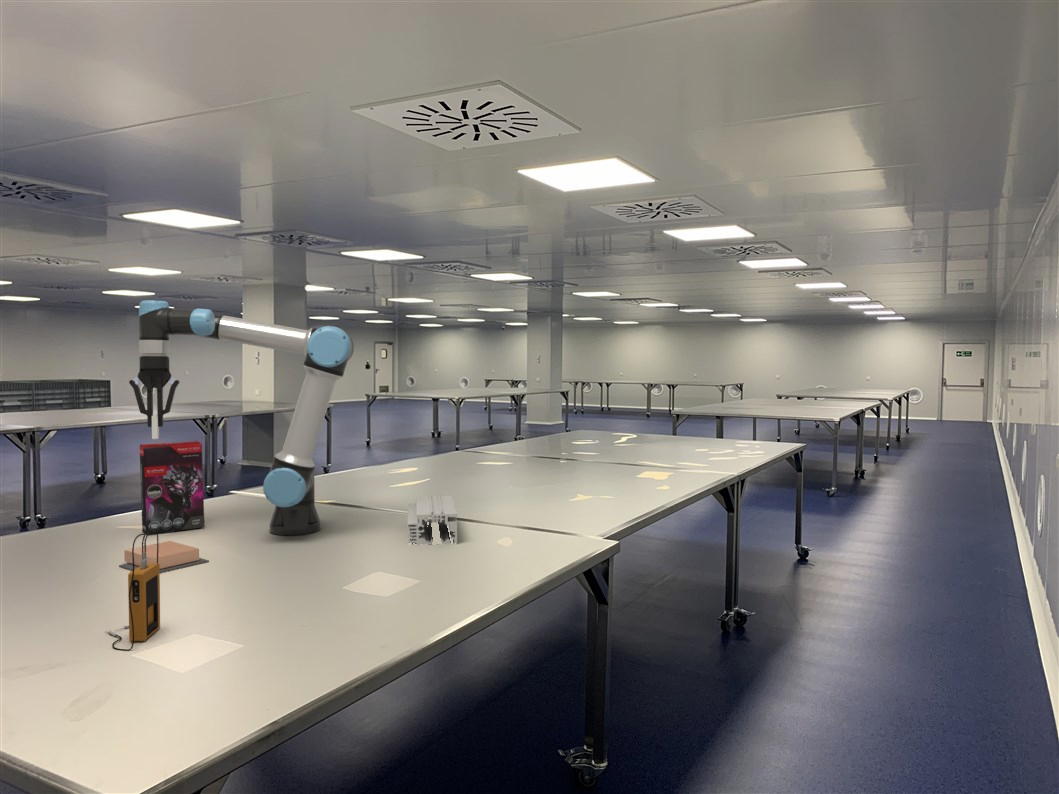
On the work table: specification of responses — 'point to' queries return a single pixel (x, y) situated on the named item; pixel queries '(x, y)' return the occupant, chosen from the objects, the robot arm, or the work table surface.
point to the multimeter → (143, 598)
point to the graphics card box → (171, 486)
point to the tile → (164, 554)
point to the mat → (200, 561)
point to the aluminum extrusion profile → (432, 507)
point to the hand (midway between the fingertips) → (155, 438)
